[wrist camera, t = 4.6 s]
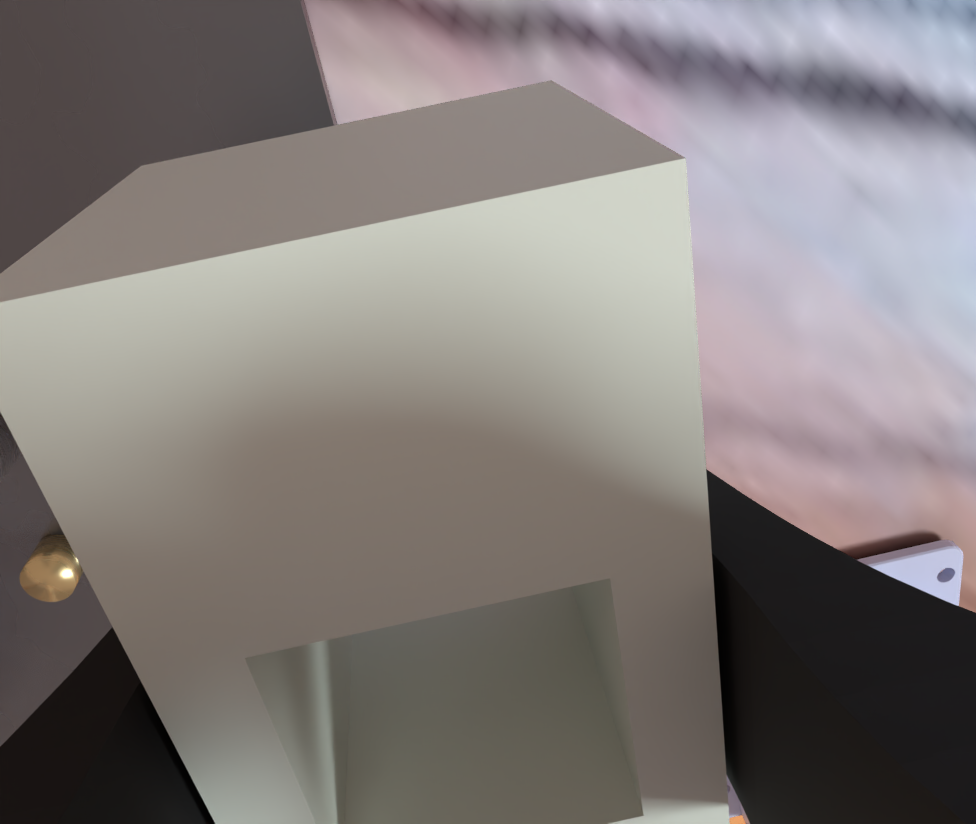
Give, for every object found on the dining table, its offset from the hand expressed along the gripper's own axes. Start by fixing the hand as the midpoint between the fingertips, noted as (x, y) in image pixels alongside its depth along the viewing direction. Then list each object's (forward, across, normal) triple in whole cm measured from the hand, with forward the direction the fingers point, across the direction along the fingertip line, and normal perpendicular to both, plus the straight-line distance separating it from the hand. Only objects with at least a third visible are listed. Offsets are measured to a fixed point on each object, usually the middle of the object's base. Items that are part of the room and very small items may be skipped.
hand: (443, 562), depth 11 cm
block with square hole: (+2, 0, 0) cm, 2 cm away
